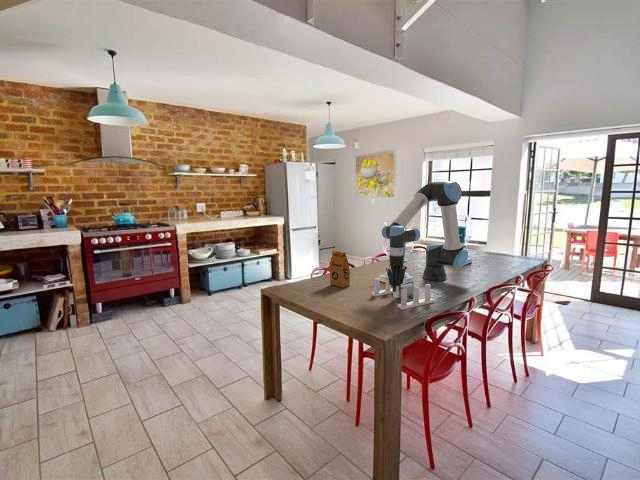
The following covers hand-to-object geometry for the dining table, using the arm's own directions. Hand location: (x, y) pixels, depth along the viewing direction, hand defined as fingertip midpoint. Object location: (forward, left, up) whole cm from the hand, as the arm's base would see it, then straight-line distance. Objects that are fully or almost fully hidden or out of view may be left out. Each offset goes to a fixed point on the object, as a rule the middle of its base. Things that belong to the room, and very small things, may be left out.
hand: (395, 297), depth 178 cm
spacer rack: (-4, 0, -1) cm, 4 cm away
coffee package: (+13, -38, -2) cm, 40 cm away
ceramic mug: (-7, +2, -2) cm, 7 cm away
